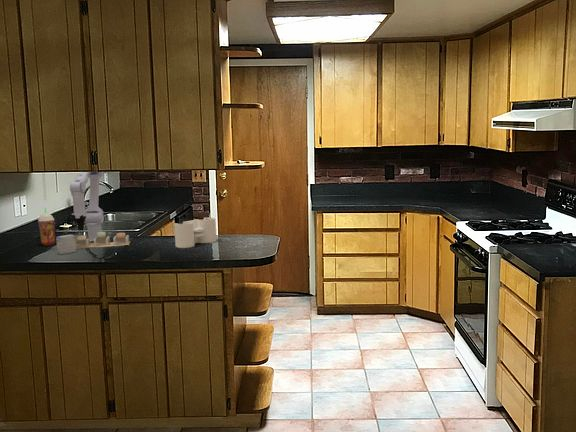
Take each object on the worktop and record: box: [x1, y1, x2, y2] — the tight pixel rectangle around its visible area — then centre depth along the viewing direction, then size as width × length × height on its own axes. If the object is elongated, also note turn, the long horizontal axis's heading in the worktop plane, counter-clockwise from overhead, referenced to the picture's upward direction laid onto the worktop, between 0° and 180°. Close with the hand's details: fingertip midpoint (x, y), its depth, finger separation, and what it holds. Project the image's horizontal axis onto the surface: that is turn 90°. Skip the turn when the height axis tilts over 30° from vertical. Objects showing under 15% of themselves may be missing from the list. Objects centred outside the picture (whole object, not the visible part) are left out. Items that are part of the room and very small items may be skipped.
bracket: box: [173, 217, 217, 249], centre depth 320 cm, size 25×10×12 cm, turn 144°
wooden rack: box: [75, 234, 131, 250], centre depth 325 cm, size 12×28×4 cm, turn 100°
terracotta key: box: [116, 232, 126, 238], centre depth 327 cm, size 4×4×4 cm
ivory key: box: [76, 234, 87, 240], centre depth 323 cm, size 4×4×4 cm
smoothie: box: [37, 207, 56, 246], centre depth 333 cm, size 8×8×20 cm
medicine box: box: [55, 234, 77, 256], centre depth 307 cm, size 8×4×9 cm, turn 141°
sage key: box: [97, 231, 107, 239], centre depth 325 cm, size 4×4×4 cm
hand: (81, 230), depth 323 cm, fingers closed
